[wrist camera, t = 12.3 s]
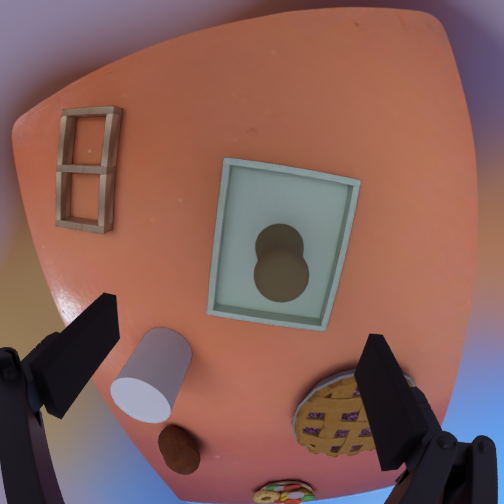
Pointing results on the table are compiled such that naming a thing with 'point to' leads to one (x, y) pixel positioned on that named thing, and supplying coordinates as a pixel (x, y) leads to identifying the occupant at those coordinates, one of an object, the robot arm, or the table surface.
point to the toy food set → (284, 493)
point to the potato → (178, 451)
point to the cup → (153, 376)
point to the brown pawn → (280, 263)
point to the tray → (284, 212)
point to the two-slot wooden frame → (87, 169)
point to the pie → (334, 417)
